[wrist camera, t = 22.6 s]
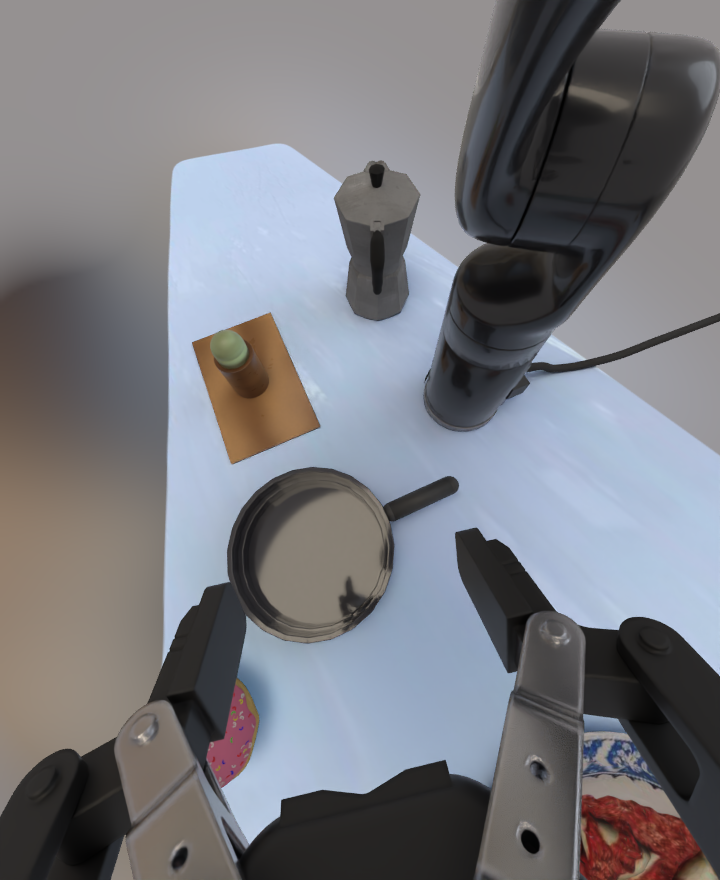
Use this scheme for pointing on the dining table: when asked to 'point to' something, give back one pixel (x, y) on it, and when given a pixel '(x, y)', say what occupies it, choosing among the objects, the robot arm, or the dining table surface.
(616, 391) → the dining table surface
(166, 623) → the dining table surface
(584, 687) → the robot arm
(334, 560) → the pan
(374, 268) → the coffeepot
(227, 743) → the cupcake
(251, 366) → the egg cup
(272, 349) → the placemat
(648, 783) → the ceramic plate
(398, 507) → the pan handle
